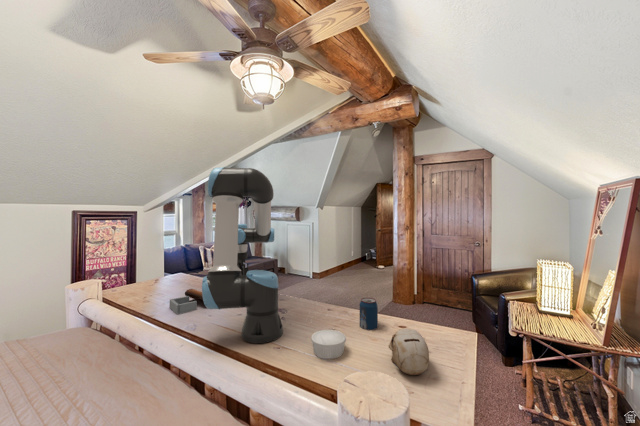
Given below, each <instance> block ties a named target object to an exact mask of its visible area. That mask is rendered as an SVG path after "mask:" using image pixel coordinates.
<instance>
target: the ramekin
mask: <svg viewBox="0 0 640 426" xmlns="http://www.w3.org/2000/svg"><path fill="white" fill-rule="evenodd" d="M310 341H311V343H312V348H313V353H314V355H315V356H316V357H318V358H320V359H324V360H333V359H337V358H339V357H341V356H342V355H343V353H344V351H345V350H344V349H345V346H346V345H345V344H346V341H347V338H346V335H345V334H344V333H343V332H341V331H339V330H335V329H323V330H322V329H321V330H318V331H315V332H314V333H313V334H311V338H310Z"/></svg>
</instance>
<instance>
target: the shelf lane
mask: <svg viewBox="0 0 640 426" xmlns="http://www.w3.org/2000/svg"><path fill="white" fill-rule="evenodd" d="M197 306H198V302H197V300H194V301H190V297H189V296H185V295H184V296H181V297H176V298H170V299H169V309H170V310H171V311H172V312H173V313H175V315H181V314H184V313H185V314H186V313H189V312H194V311H197V310H198V307H197Z"/></svg>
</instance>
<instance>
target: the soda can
mask: <svg viewBox="0 0 640 426" xmlns="http://www.w3.org/2000/svg"><path fill="white" fill-rule="evenodd" d="M378 306H379V305H378V302H377V300H376V299H375V298H373V297H363V298H361V299H360V302H359V328H361V329H362V330H366V331H373V330H377V328H378V327H379V323H378V321H379V319H378V317H379V315H378V311H379V308H378Z"/></svg>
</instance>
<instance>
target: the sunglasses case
mask: <svg viewBox="0 0 640 426" xmlns="http://www.w3.org/2000/svg"><path fill="white" fill-rule="evenodd" d="M185 296H189V299H194V300H197V299H198V300H201V301H203V296H202V291H200V290H197V289H194V288H190V289H189V288H188V289H187V290H186V291H185V292H184V297H185Z"/></svg>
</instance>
